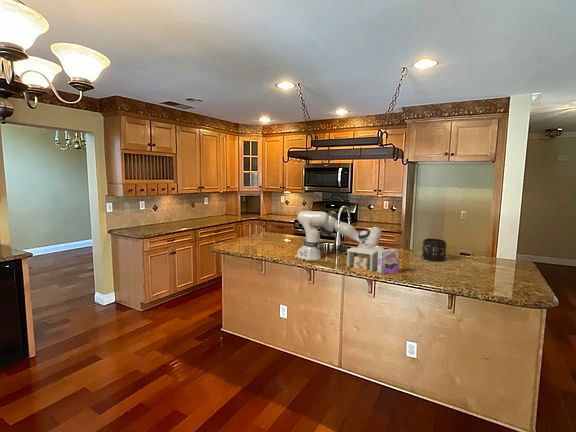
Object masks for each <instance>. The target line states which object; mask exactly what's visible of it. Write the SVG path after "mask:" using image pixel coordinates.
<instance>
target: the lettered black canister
mask: <svg viewBox="0 0 576 432" xmlns="http://www.w3.org/2000/svg"><path fill="white" fill-rule="evenodd" d="M446 254H447V243H446V241H445V240H443V239H440V238H424V240H423V241H422V254H421V257H422V258H423V259H424V260H425V261H429V262H439V263H440V262H443V261H445V259H446Z"/></svg>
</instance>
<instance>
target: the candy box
mask: <svg viewBox="0 0 576 432" xmlns="http://www.w3.org/2000/svg"><path fill="white" fill-rule="evenodd" d="M399 263H400V250H399V249H397V248H391V249H389V248H387V249H384V250H378V257H377V269H376V273H379V274H380V275H388V274H389V275H390V274H398V273H399V268H400V267H399V266H400V264H399Z"/></svg>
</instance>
